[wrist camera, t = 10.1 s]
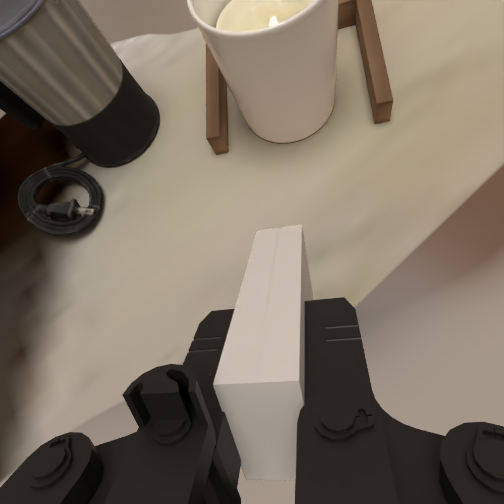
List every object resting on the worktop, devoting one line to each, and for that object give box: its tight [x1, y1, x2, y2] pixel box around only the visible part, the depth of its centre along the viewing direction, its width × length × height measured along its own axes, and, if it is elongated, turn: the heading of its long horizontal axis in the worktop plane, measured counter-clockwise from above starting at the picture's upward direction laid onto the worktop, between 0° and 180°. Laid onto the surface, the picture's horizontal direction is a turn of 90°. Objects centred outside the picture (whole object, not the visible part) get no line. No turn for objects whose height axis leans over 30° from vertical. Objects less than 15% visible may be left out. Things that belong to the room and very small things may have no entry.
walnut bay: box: [206, 0, 393, 154], centre depth 33 cm, size 15×13×2 cm
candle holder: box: [187, 0, 339, 143], centre depth 28 cm, size 10×10×12 cm
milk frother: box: [0, 0, 159, 236], centre depth 30 cm, size 14×16×15 cm
